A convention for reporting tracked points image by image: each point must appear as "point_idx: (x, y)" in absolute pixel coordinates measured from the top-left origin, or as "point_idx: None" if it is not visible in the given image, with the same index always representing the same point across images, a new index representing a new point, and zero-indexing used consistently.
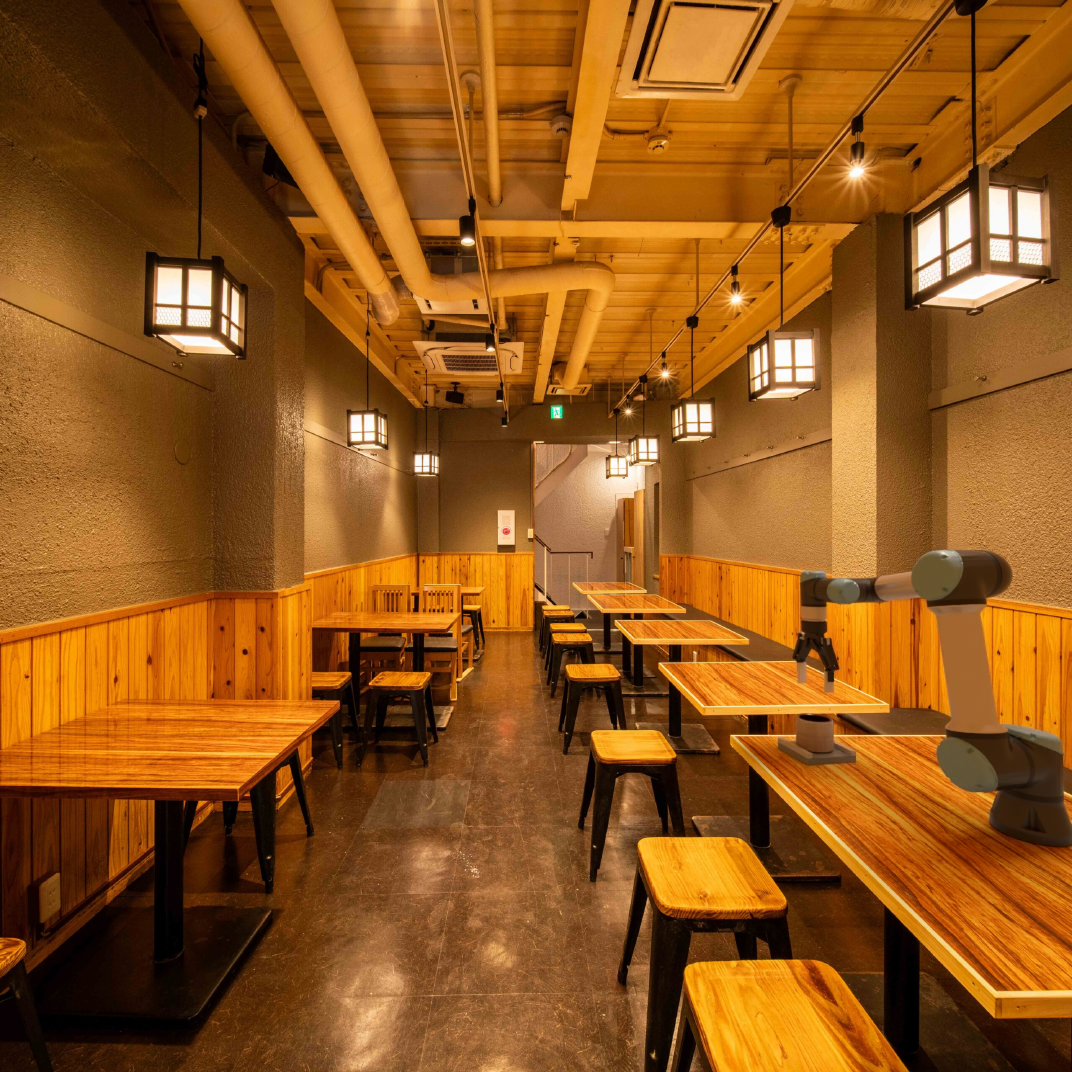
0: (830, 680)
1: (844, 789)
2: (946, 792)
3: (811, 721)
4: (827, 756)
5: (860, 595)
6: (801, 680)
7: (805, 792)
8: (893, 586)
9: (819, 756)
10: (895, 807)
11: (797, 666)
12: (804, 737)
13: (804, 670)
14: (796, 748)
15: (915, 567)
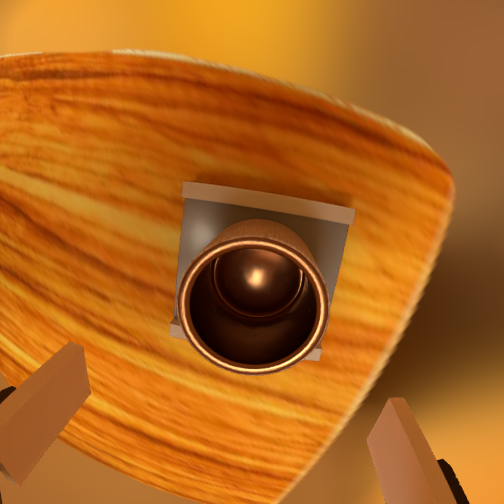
0: (2, 393)
1: (63, 161)
2: (37, 329)
3: (204, 254)
4: (186, 252)
5: None
6: (386, 426)
7: (79, 74)
8: None
9: (192, 229)
10: (6, 195)
11: (448, 490)
12: (238, 225)
13: (395, 499)
14: (244, 189)
15: None
